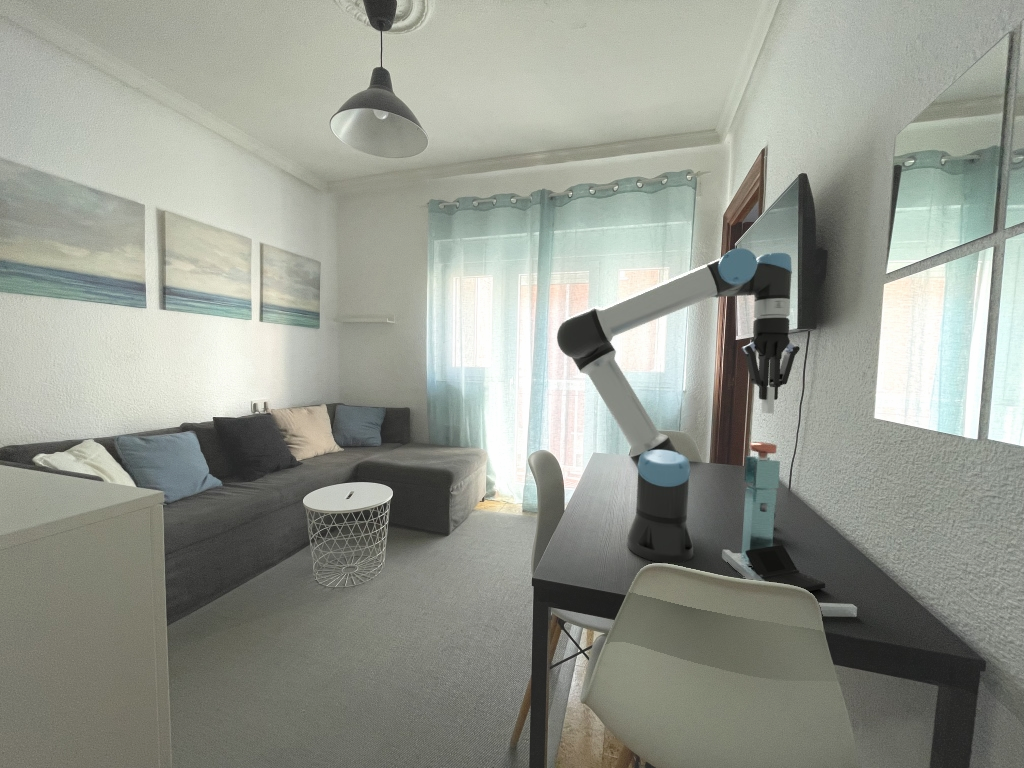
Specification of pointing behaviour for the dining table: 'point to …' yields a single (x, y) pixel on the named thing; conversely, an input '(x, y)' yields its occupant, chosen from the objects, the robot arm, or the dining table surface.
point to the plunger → (763, 449)
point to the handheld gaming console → (780, 568)
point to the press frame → (766, 524)
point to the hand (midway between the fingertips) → (767, 412)
